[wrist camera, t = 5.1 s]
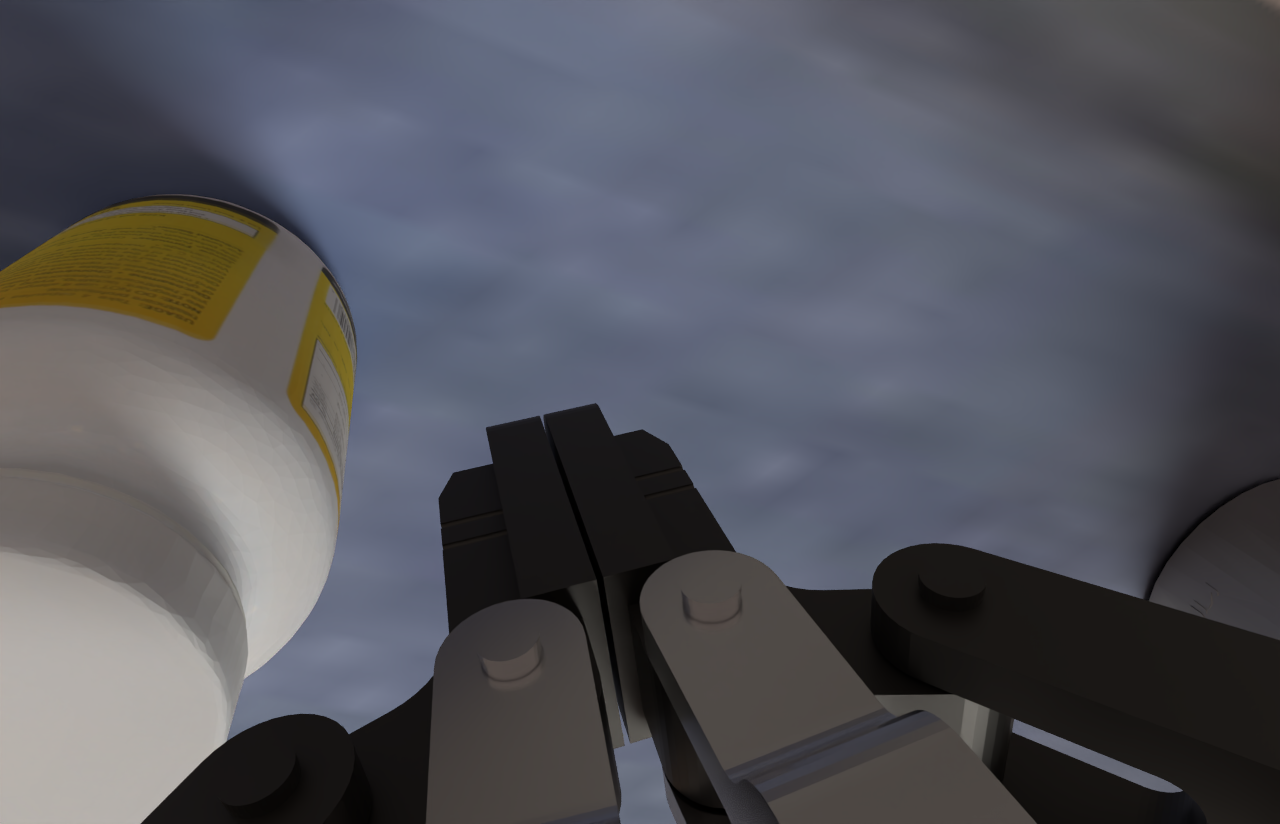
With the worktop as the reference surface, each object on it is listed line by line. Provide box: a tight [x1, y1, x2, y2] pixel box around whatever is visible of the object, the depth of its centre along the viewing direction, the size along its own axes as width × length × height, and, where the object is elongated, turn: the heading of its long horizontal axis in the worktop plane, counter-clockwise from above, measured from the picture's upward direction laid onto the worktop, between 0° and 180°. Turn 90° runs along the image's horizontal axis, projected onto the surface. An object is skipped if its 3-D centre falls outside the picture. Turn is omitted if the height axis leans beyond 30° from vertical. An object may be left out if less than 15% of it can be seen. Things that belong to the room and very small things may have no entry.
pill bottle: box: [0, 194, 357, 824], centre depth 13 cm, size 6×6×12 cm
